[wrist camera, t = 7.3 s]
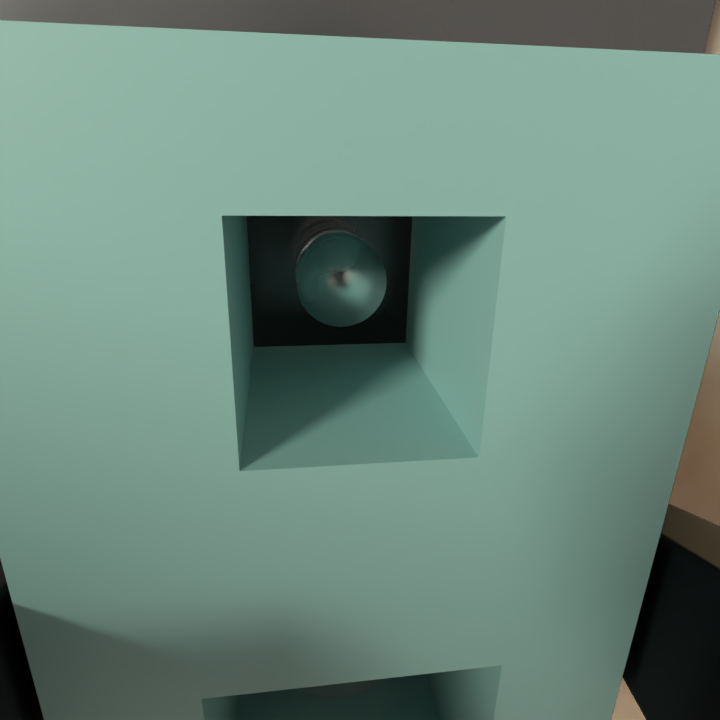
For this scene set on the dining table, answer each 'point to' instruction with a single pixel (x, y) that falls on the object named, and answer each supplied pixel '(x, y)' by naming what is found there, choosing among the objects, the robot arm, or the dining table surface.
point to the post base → (373, 233)
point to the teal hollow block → (344, 369)
